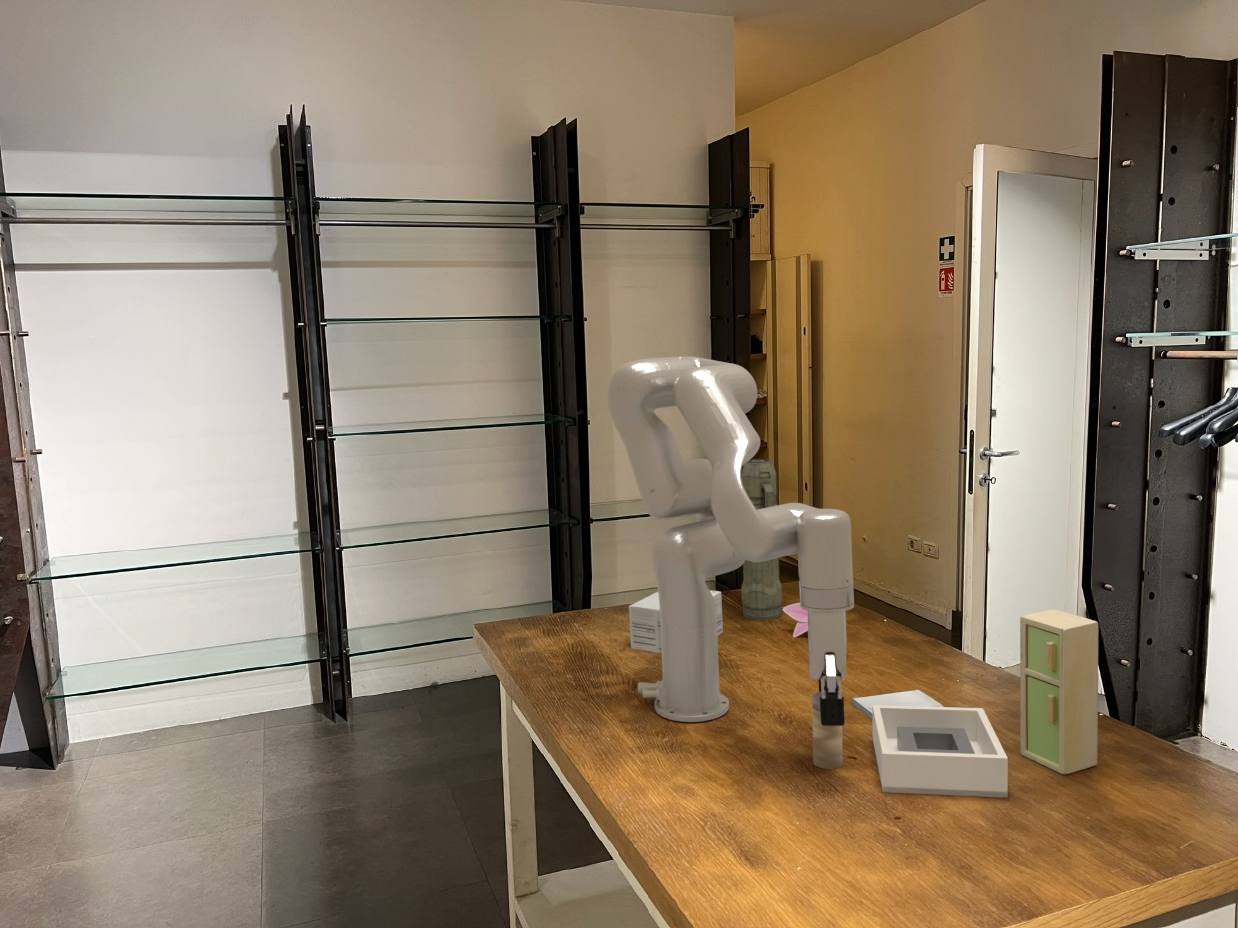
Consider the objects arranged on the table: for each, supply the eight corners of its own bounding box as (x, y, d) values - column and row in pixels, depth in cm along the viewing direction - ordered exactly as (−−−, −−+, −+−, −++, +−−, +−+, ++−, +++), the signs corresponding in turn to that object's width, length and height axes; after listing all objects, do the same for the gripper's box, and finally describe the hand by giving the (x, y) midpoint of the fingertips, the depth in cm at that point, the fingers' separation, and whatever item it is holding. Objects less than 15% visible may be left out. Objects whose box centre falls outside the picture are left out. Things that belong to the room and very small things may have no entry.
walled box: (882, 791, 127) (882, 753, 127) (872, 739, 144) (872, 705, 143) (1007, 797, 124) (1007, 758, 124) (982, 743, 141) (982, 708, 140)
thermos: (758, 624, 204) (754, 465, 199) (732, 610, 215) (727, 459, 210) (793, 618, 207) (790, 461, 203) (765, 605, 218) (761, 456, 213)
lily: (780, 632, 201) (771, 600, 196) (824, 605, 204) (817, 573, 198) (813, 664, 191) (805, 632, 186) (859, 635, 194) (852, 602, 189)
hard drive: (875, 715, 150) (944, 705, 153) (851, 697, 158) (917, 687, 161) (875, 725, 150) (944, 715, 153) (851, 706, 158) (917, 697, 161)
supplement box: (669, 626, 206) (668, 584, 205) (723, 633, 199) (722, 591, 198) (629, 648, 192) (627, 604, 191) (685, 658, 185) (683, 612, 184)
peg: (813, 768, 135) (812, 701, 134) (813, 755, 140) (811, 690, 138) (843, 769, 135) (842, 702, 133) (842, 756, 139) (841, 691, 137)
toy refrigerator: (1014, 755, 137) (1016, 615, 134) (1051, 744, 140) (1054, 607, 137) (1059, 777, 129) (1062, 630, 127) (1097, 765, 132) (1101, 621, 130)
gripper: (799, 582, 143) (804, 690, 145) (800, 612, 126) (805, 735, 128) (850, 581, 141) (854, 690, 143) (857, 612, 124) (862, 736, 126)
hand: (831, 711), depth 135 cm, fingers open, 9 cm apart
